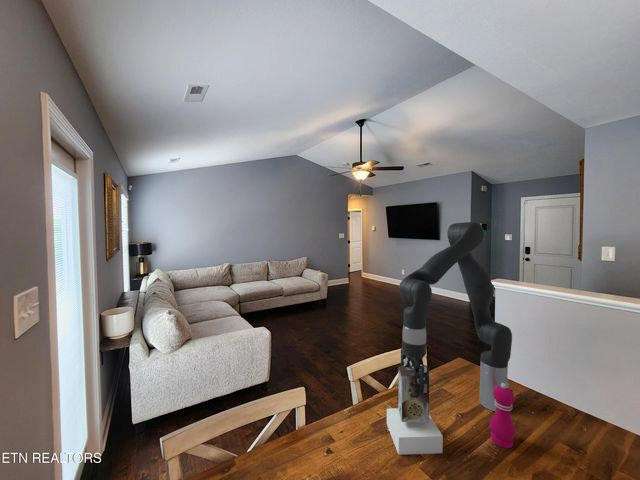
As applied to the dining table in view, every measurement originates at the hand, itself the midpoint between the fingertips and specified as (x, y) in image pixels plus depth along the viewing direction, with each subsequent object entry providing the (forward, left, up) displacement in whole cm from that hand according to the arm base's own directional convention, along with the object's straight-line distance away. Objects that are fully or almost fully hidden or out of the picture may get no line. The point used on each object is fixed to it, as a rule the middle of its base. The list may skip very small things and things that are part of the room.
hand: (413, 386), depth 97 cm
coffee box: (0, 0, -11) cm, 11 cm away
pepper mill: (-28, +8, -18) cm, 34 cm away
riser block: (0, 0, -18) cm, 18 cm away
